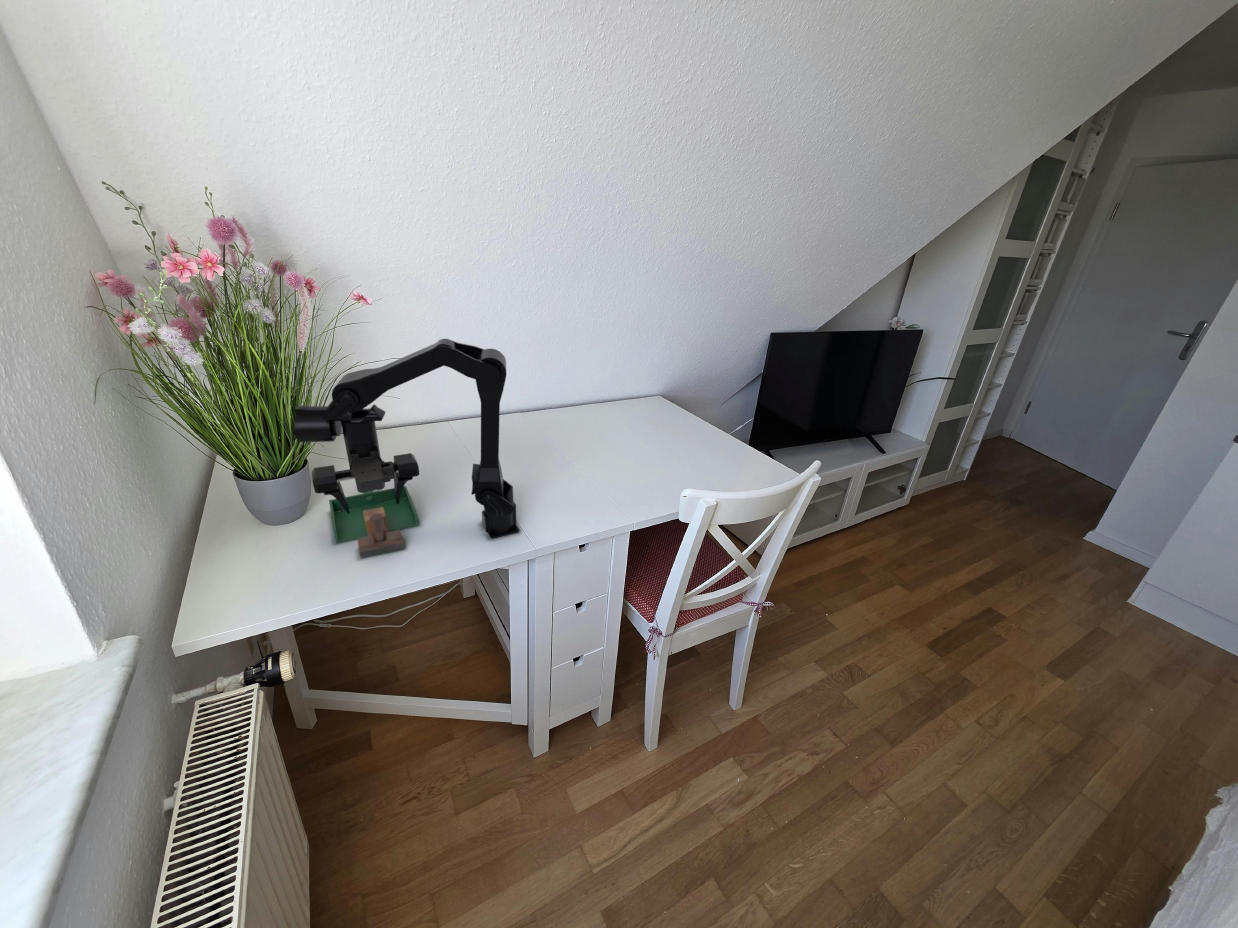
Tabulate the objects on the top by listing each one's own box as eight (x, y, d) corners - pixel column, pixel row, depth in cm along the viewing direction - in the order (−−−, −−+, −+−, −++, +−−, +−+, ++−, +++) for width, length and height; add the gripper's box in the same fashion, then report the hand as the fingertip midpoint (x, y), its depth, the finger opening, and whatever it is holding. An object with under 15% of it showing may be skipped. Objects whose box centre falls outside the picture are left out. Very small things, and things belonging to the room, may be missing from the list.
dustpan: (418, 525, 112) (416, 513, 111) (336, 543, 105) (333, 530, 103) (401, 480, 128) (399, 468, 127) (329, 492, 121) (326, 480, 119)
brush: (402, 541, 107) (397, 509, 103) (404, 549, 105) (399, 517, 101) (360, 549, 104) (353, 517, 100) (360, 558, 101) (354, 525, 97)
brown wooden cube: (388, 531, 109) (385, 522, 112) (385, 516, 107) (383, 506, 110) (367, 536, 107) (365, 526, 110) (364, 520, 105) (362, 510, 108)
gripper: (306, 467, 88) (324, 540, 95) (420, 449, 96) (428, 518, 104) (304, 440, 96) (321, 510, 103) (409, 426, 105) (417, 491, 112)
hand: (373, 507), depth 105 cm, fingers open, 9 cm apart
